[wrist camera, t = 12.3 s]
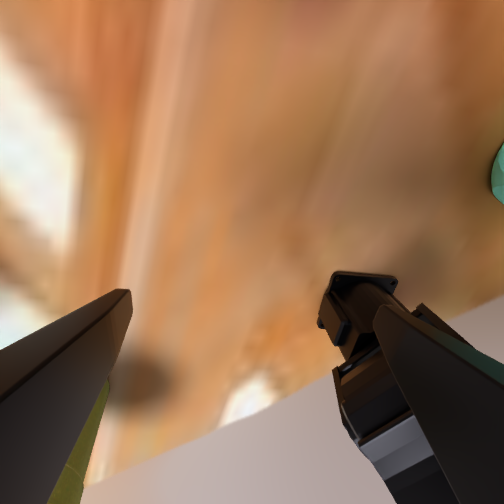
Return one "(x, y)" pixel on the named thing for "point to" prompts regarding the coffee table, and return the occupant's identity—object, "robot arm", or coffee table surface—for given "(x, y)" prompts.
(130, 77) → the coffee table surface
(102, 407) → the plant pot
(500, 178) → the decorative dice
